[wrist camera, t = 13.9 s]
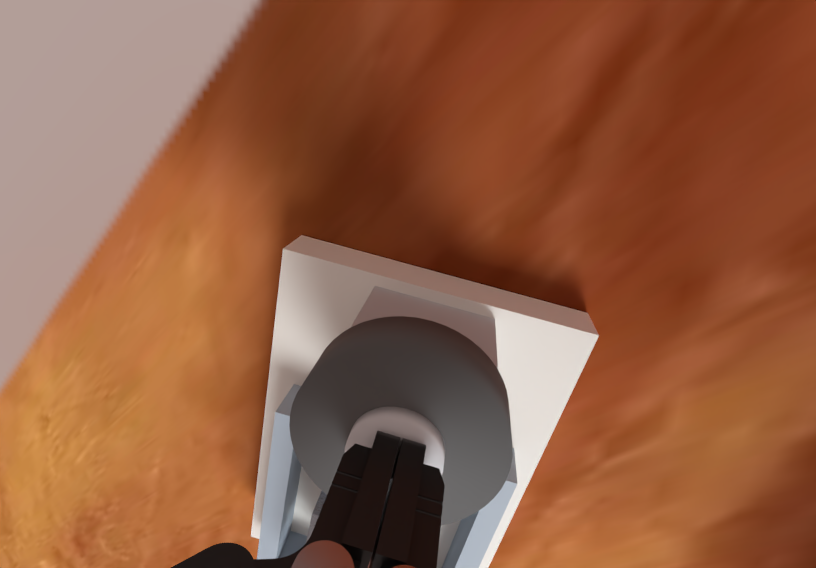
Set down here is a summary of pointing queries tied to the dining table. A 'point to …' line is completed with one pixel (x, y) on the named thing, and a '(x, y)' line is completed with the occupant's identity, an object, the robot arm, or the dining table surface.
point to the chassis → (427, 299)
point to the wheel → (408, 406)
